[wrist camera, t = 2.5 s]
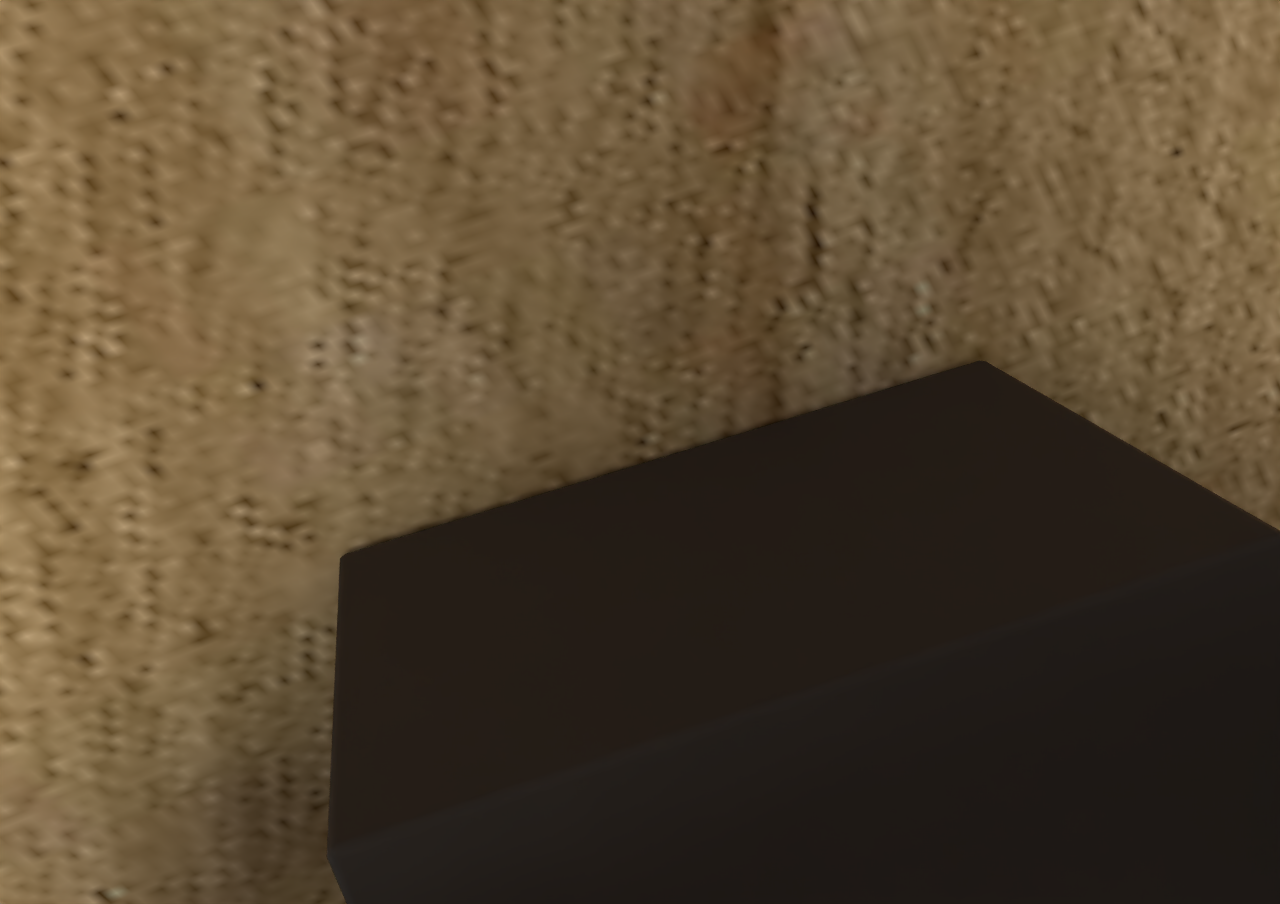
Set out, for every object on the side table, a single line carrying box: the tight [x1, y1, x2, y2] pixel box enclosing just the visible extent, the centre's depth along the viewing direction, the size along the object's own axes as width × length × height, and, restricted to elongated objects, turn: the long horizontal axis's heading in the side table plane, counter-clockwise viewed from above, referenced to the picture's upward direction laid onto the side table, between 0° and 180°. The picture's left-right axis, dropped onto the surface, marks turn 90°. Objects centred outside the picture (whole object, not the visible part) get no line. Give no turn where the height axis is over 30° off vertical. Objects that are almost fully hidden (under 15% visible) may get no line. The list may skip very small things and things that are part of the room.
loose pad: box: [327, 361, 1280, 904], centre depth 10 cm, size 6×6×4 cm
